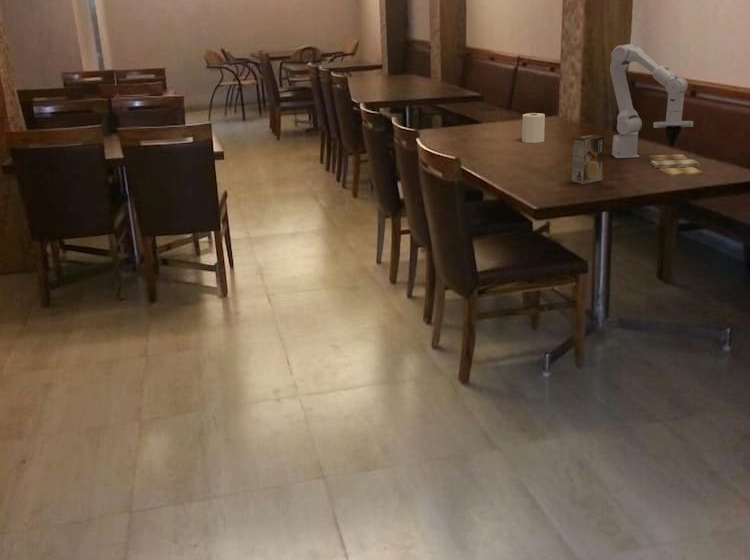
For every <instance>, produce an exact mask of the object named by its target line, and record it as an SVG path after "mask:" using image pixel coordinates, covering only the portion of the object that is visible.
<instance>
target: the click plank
mask: <svg viewBox="0 0 750 560" xmlns="http://www.w3.org/2000/svg"><path fill="white" fill-rule="evenodd" d="M648 159H649V161H651V160H666V159H689V157H687V156H685V155H684V154H682V153H681V154H680V153H679V154H658V155H657V154H655V155H654V154H653V155H648Z"/></svg>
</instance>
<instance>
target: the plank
mask: <svg viewBox="0 0 750 560" xmlns="http://www.w3.org/2000/svg"><path fill="white" fill-rule="evenodd" d="M658 171H659V172H661V173H663V174H664V175H665V176H668V177H673V176H674V177H675V176H689V175H704V171H702V170H700V169H698V168H697V167H686V168H659V169H658Z"/></svg>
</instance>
